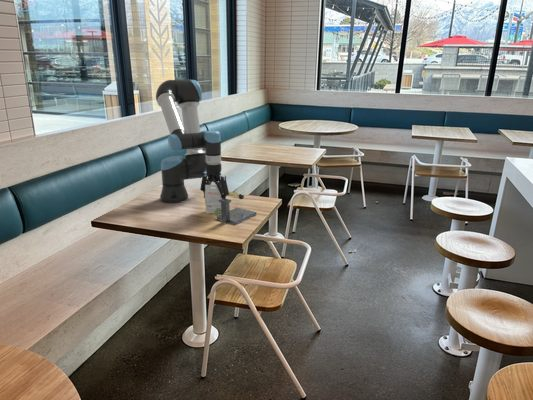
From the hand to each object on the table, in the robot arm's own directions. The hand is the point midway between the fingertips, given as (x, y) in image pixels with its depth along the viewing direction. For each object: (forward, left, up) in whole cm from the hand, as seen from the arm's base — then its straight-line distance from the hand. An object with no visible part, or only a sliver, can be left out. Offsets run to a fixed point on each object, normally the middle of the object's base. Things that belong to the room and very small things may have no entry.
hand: (215, 206), depth 203 cm
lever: (+1, +11, +3) cm, 11 cm away
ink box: (0, 0, -3) cm, 3 cm away
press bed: (+13, +1, -3) cm, 14 cm away
